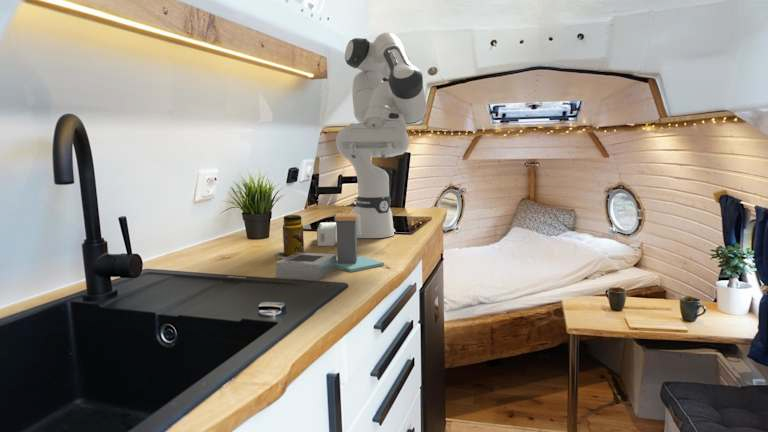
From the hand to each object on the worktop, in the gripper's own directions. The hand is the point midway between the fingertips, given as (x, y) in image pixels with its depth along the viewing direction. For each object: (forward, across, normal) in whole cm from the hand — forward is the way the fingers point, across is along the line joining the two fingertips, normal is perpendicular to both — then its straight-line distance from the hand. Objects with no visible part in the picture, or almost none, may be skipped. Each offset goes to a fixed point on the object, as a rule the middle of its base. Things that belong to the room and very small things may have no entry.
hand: (368, 156), depth 148 cm
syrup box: (+12, -18, +25) cm, 33 cm away
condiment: (+24, -24, +17) cm, 38 cm away
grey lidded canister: (+28, -3, +12) cm, 31 cm away
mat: (+29, 0, +12) cm, 32 cm away
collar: (+37, -9, +4) cm, 39 cm away
